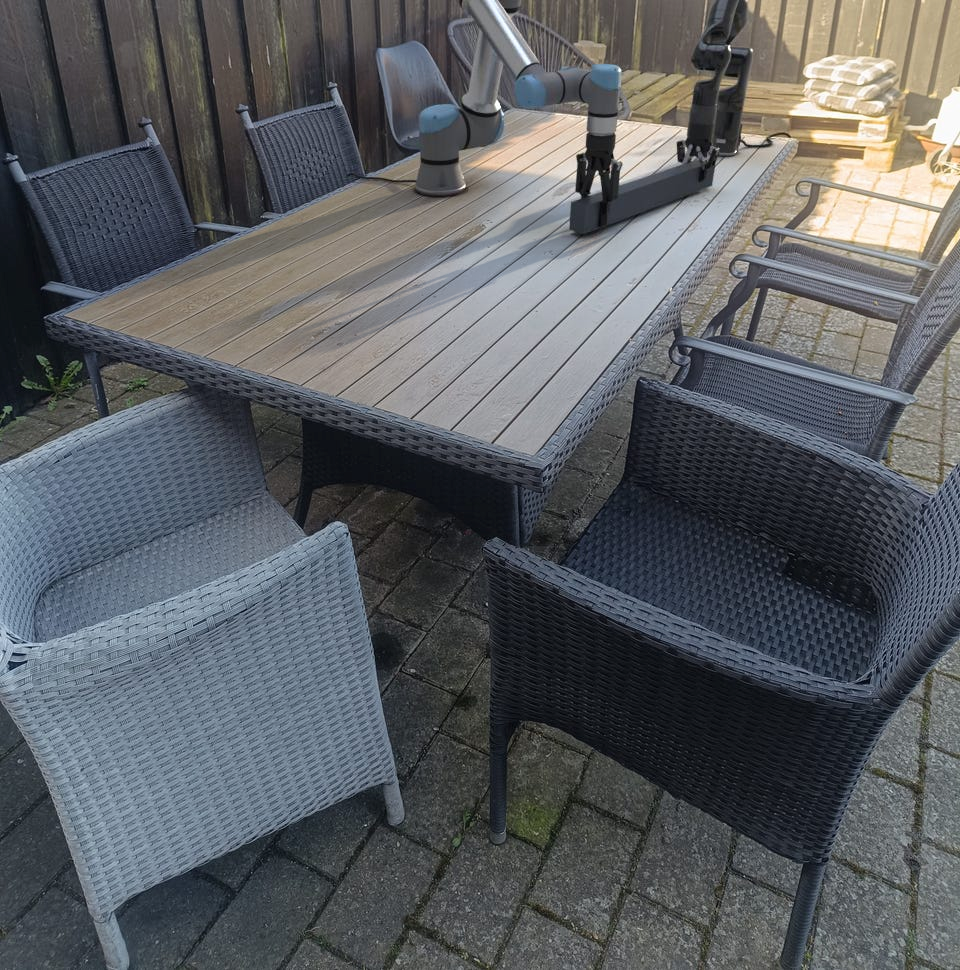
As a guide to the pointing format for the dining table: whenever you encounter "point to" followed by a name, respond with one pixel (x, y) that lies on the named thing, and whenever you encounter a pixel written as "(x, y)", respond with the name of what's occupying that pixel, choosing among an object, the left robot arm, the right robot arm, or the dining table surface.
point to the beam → (640, 196)
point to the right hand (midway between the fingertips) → (693, 179)
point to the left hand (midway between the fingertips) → (593, 222)
